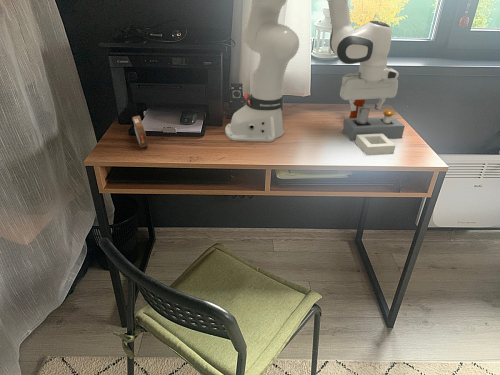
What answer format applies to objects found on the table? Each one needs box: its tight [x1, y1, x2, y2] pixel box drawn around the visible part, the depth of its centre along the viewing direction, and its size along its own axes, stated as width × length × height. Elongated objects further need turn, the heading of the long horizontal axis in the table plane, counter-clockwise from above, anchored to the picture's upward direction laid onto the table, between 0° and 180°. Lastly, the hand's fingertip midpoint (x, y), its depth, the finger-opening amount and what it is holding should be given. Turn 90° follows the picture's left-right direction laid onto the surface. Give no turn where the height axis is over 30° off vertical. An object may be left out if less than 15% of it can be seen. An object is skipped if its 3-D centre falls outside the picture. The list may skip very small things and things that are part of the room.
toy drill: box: [349, 99, 366, 118], centre depth 152 cm, size 5×19×15 cm, turn 8°
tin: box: [131, 115, 149, 148], centre depth 133 cm, size 15×3×8 cm, turn 22°
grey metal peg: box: [356, 104, 371, 126], centre depth 141 cm, size 4×4×11 cm
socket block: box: [342, 116, 406, 142], centre depth 143 cm, size 20×9×5 cm, turn 99°
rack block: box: [354, 134, 396, 156], centre depth 134 cm, size 10×10×3 cm
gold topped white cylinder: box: [382, 108, 396, 125], centre depth 143 cm, size 4×4×9 cm
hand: (365, 109), depth 139 cm, fingers open, 8 cm apart
